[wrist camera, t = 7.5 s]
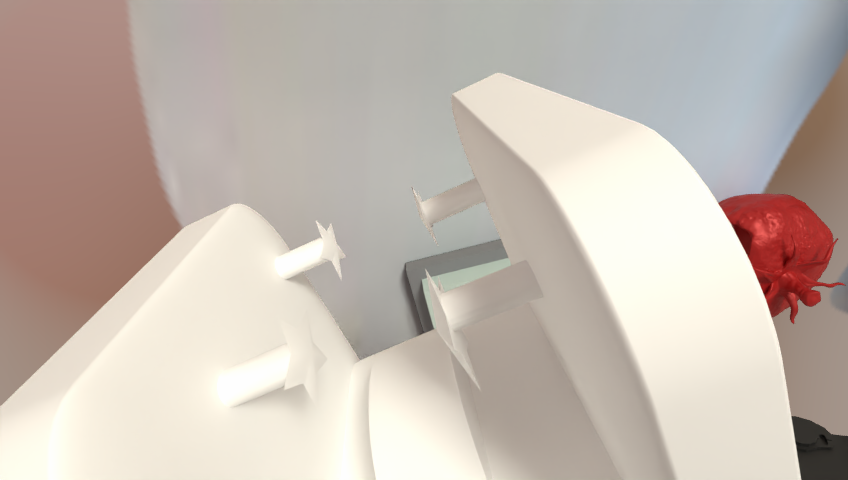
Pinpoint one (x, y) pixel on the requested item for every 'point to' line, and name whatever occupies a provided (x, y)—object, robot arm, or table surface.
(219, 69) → the table surface
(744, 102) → the table surface
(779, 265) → the red tomato
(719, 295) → the cable organizer
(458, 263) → the grey green tray
